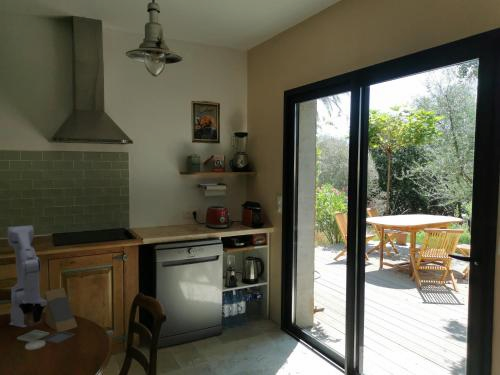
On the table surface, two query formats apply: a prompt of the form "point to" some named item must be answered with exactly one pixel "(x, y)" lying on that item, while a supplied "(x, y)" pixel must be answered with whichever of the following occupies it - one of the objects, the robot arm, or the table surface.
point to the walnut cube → (30, 319)
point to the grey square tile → (58, 337)
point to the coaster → (35, 345)
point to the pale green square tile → (33, 336)
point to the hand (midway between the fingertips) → (32, 320)
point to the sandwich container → (59, 310)
